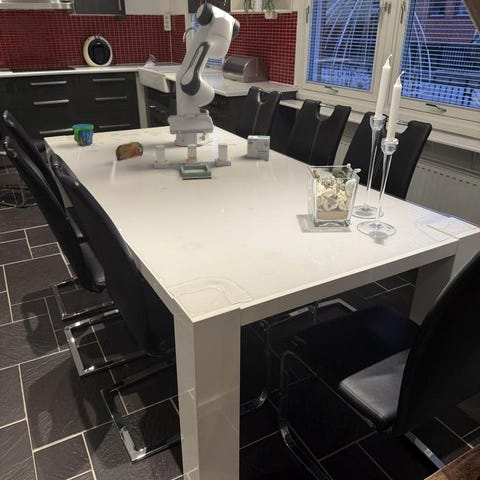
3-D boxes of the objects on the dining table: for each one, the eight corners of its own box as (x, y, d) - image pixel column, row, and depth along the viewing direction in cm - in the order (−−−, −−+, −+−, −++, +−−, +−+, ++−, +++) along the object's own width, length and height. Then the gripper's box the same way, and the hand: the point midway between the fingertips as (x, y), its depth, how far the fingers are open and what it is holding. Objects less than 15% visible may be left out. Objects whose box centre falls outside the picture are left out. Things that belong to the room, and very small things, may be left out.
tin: (119, 164, 216) (118, 146, 212) (115, 163, 217) (113, 145, 214) (144, 158, 227) (142, 140, 223) (139, 157, 228) (138, 139, 225)
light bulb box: (269, 157, 231) (270, 135, 226) (268, 161, 224) (269, 138, 220) (247, 156, 231) (248, 135, 227) (246, 160, 225) (247, 137, 221)
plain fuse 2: (218, 162, 214) (218, 143, 211) (226, 162, 215) (226, 143, 211) (219, 164, 211) (219, 145, 208) (227, 164, 212) (227, 144, 208)
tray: (180, 172, 205) (180, 165, 203) (207, 171, 207) (207, 164, 206) (182, 180, 194) (182, 173, 193) (211, 178, 196) (211, 172, 195)
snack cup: (84, 148, 242) (81, 129, 238) (67, 147, 245) (64, 127, 241) (102, 142, 255) (100, 124, 251) (86, 141, 259) (83, 122, 254)
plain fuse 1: (157, 165, 209) (155, 145, 205) (165, 164, 210) (164, 145, 206) (157, 167, 206) (156, 147, 202) (165, 167, 207) (164, 146, 203)
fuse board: (153, 167, 212) (153, 159, 210) (228, 163, 218) (228, 156, 217) (154, 172, 204) (153, 164, 202) (231, 169, 210) (231, 161, 209)
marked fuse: (188, 163, 212) (187, 144, 208) (195, 163, 213) (195, 144, 209) (188, 166, 209) (188, 146, 205) (196, 165, 209) (196, 145, 206)
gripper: (167, 111, 211) (170, 137, 207) (211, 110, 215) (215, 135, 211) (167, 119, 217) (170, 145, 212) (210, 118, 221) (214, 143, 217)
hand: (193, 140), depth 212 cm, fingers open, 8 cm apart
